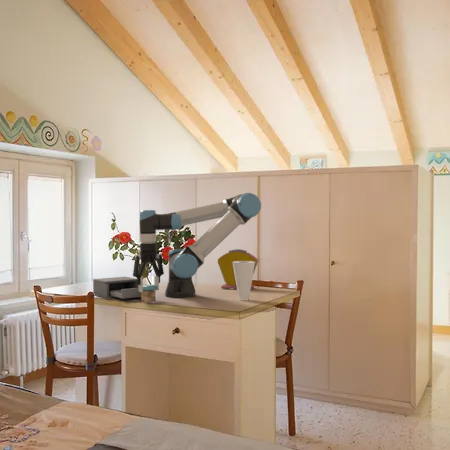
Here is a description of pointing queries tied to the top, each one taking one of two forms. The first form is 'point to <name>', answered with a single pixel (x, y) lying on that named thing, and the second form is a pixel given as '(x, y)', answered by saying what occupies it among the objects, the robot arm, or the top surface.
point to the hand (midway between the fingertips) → (148, 290)
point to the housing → (112, 285)
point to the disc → (149, 287)
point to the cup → (243, 277)
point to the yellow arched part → (227, 265)
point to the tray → (126, 293)
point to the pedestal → (148, 295)
